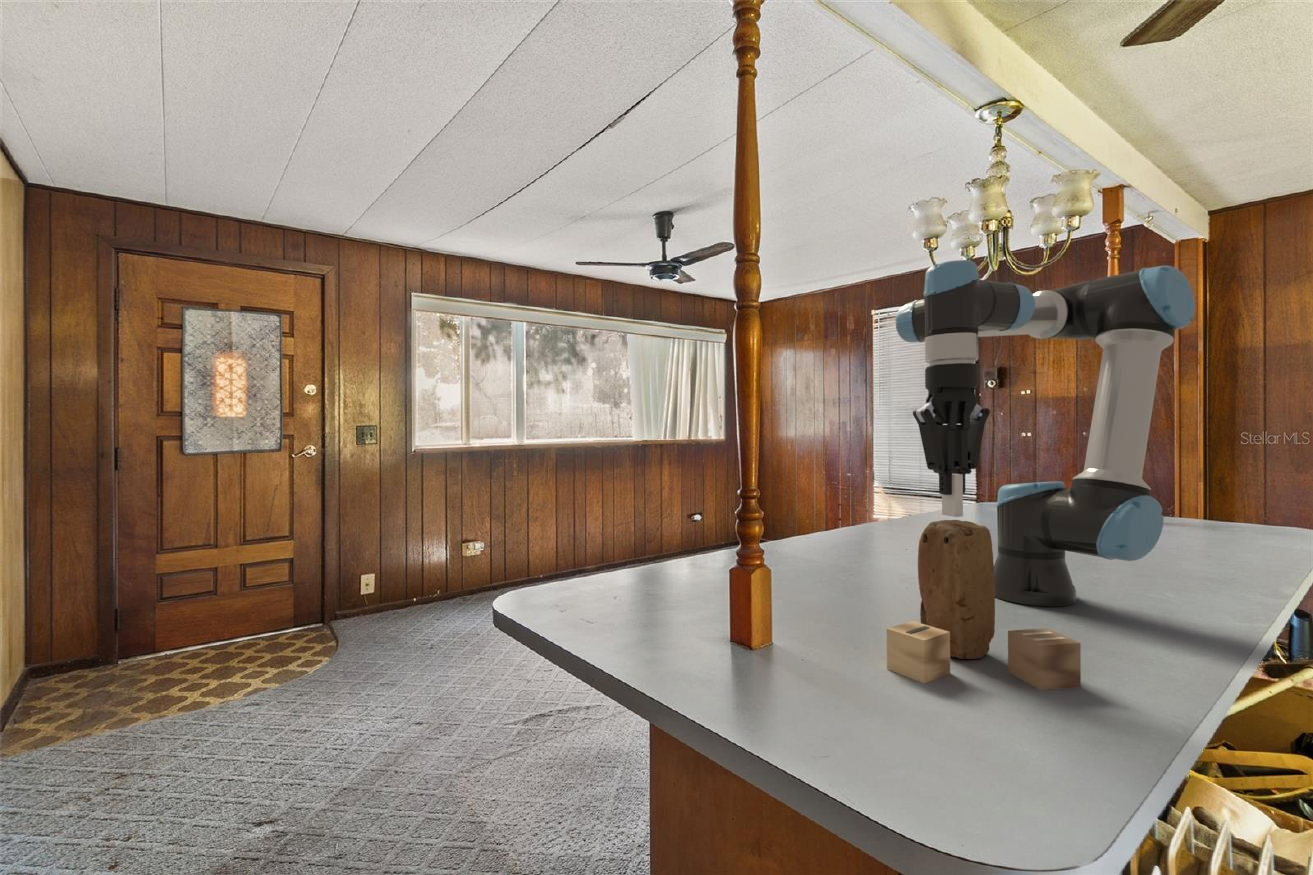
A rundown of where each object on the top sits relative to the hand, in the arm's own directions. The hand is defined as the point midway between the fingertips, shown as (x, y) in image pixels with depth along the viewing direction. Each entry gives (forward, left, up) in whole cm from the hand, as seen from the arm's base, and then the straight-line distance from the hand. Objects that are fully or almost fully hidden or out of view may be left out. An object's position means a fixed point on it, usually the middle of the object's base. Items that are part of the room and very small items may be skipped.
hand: (952, 515), depth 95 cm
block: (0, 0, -21) cm, 21 cm away
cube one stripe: (+11, +5, -21) cm, 24 cm away
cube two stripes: (-3, +13, -21) cm, 25 cm away
